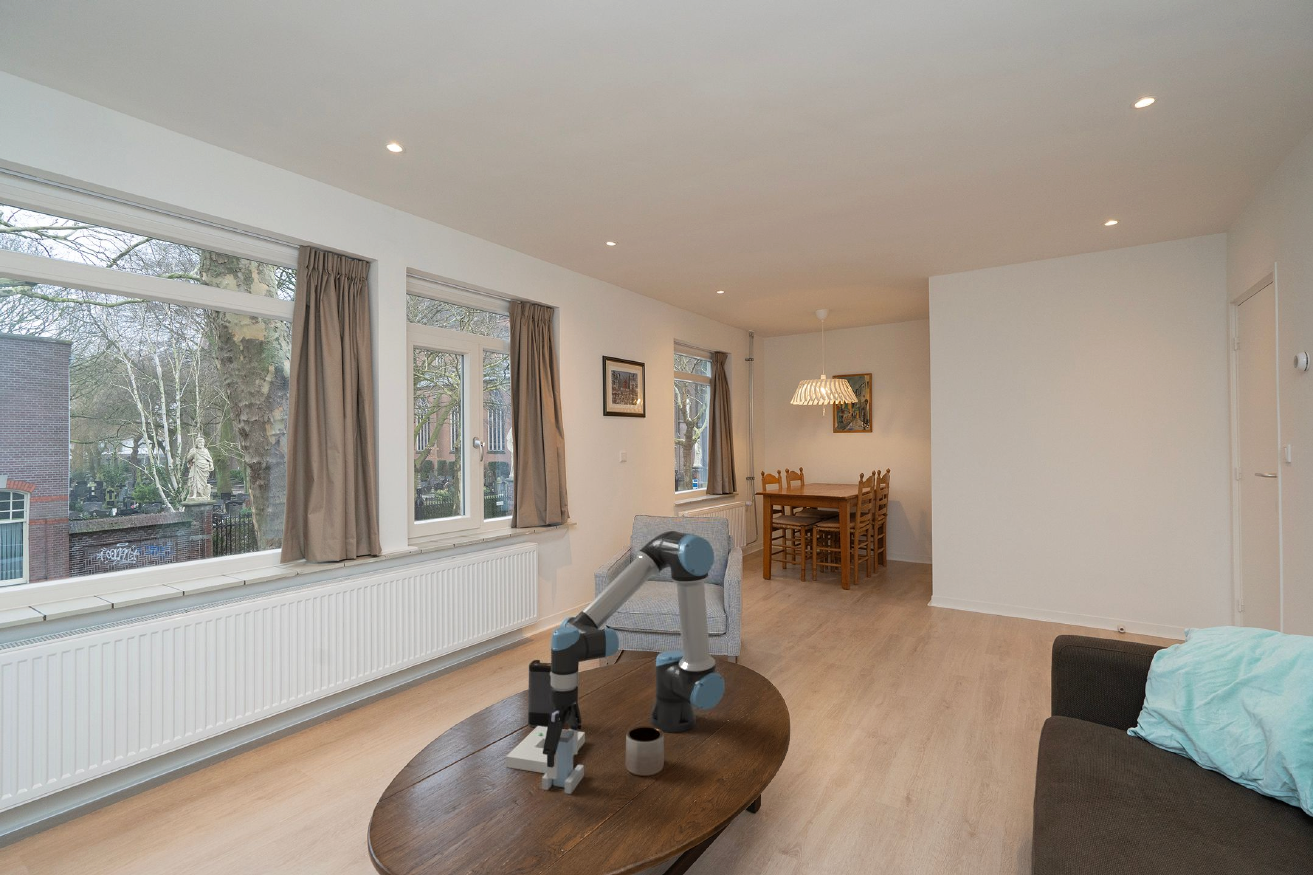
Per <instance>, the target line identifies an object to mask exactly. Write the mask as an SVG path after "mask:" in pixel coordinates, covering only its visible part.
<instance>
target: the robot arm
mask: <svg viewBox="0 0 1313 875" xmlns="http://www.w3.org/2000/svg"><path fill="white" fill-rule="evenodd" d="M714 563H715V552H714V549H713V546H712V545H711V543H710V542H709V541H708V540H707V539H706V538H705V537H702V536H699V535H697V534H694V533H692V534H690V533H684V532H681V531H680V532H679V531H677V530H675V531H674V530H669V531H665V532H663V533H660V534H658V535H657V536H655V537H654V538H652V539H651V540H649V541H648V542H647V543H646V544H645V545H644V546H643V547H642V548H640V549H639V551H638V552H636V558H635V559H634V560H632V562H631V563H629V565H628V566H626V567H625V568H624V569H623V570H622V571H621V572H620V573H619V574H618V575H617V576H616V577H615V578H614V579H613V580H612V581H611V582H610V583H609V584H608V585H607V586H606V587H605V588H604V589H603V590H602V591H601V592H600V593H599V594H598V595H596V597H595V598H594V599H593V600H591V602H590V603H588V604H587V605H586V607H584V609H582V610H581V611H580V613H578V614H577V615H576V616H569V617H567V618H565V619H563V621H562V622H561V623H560V626H559V627H557V628H555V629H553V631H552V633H551V640H550V663H551V672H550V676H551V686H552V687H551V688H550V701H551V702H552V703H553V704H554V705H555V710H554V713H551V712H550V714H549V723H548V728H547V733H546V738H545V743H544V748H543V754H545V755H547V777H546V778H551V779H557V764H558V753H557V752H556V751H557V747H558V743H559V740H560V736H561V732H562V729H564V728H565V727H566V723H567V726H569V728H568V730H569V731H574V736H573V754H575V755H577V754H578V751H579V750H578V732H579V730H582V727H583V726H582V715H581V713H580V711H581V710H580V706H579V703H578V702H579V701H578V700H579V666H580V663H581V662H586V661H587V662H588V661H592V660H597V659H602V658H605V659H606V658H607V657H610V656H614V655H616V654H617V652H618V650H619V646H620V645H619V643H620V642H619V640H620V639H619V636H618V634H617V632H616V630H614V629H613V628H603V629H600V628H601V627H602V626H603V625H604V624H605V623H606V622H608V620H609V619H610V618H612V617H613V615H615V613H616V612H617V611H618V610H619V609H620V608H621V607H622V606H623V605H625V603H626V602H627V601H628V600H629V599H630V598H632V596H633V595H634V594H635V593H636V592H637V591H638V590H640V588H641V587H642V586H643V585H644V584H645V583H647V582H648V580H649V579H650V578H651V577H653V575H654V576H655V575H659V574H660V573H661V572H662V571H663V570H665V569H667V568H670V575H671V577H670V578H671V580H672V581H673V582H674V583H675V584H676V588H677V602H678V615H679V625H680V639H681V650H676V649H675V650H667V651H663V652H660V653H658V655H657V656H656V659H655V661H656V662H655V700H654V703H653V707H652V710H651V713H650V718H649V719H650V720H649V721H650V722H649V723H650V726H654V727H657V728H659V729H661V730H662V731H663V732H666V733H682V732H683V733H684V732H687V731H689V730H692V728H694V727H695V726H696V723H697V721H696V719H697V716H696V712H695V710H694V708H697V709H700V710H702V711H703V710H704V711H705V710H706V711H708V710H711V709H713V708H715V707H716V706H717V705H718V703H719V702H720V700H721V699H722V697H723V695H724V693H725V686H726V685H725V680H724V678H723V676H721V674H720V673H717V668H716V667H717V666H716V660H715V658H713V657H712V656H711V651H710V639H709V638H710V637H709V628H708V627H709V626H708V614H707V603H706V602H707V601H706V589H705V581H706V580H707V579H708V578H709V572H710V571H711V569H712V566H713V565H714Z"/></svg>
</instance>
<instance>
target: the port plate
mask: <svg viewBox="0 0 1313 875" xmlns="http://www.w3.org/2000/svg"><path fill="white" fill-rule="evenodd" d="M547 728H548V727H542V726H537V727H534V729H533V730H532V731H531V732H530V733H528V735H527V736H526V737H525V738H523V740H521V742H520V743H518V745H516V746H515V747H514V748H513V749H511V751H510V752H509V753H508V754H507V755H506V756H505V767H506V768H509V769H510V768H511V769H517V770H523V771H528V772H535V773H536V772H537V773H542V774H546V772H547V755H545V754H543V748H544V743H545V738H546V733H547ZM562 730H565V729H564V728H563V729H562ZM585 743H586V732H585V731H584V732H583V731H578V751H579V750H580V749H581V748H582V747H583V746H584V745H585ZM575 755H576V754H573V757H574V756H575Z"/></svg>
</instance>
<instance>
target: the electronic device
mask: <svg viewBox="0 0 1313 875" xmlns="http://www.w3.org/2000/svg"><path fill="white" fill-rule="evenodd" d="M550 672H551V662H541V660H540V659H534V660H532V661H531V662H530V663H529V664H528V701H527V702H528V707H527V709H528V712H527V713H528V715H527V716H528V718H527V719H528V720H527V726H529V727H531V728H536V727H537V726H542V727H548V723H549V714H550V712H551V713H554V710H555V705H554V704H553V703H552V702H551V701H550V688H551V687H552V686H551V676H550Z"/></svg>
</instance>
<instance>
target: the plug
mask: <svg viewBox="0 0 1313 875" xmlns="http://www.w3.org/2000/svg"><path fill="white" fill-rule="evenodd" d="M573 736H574V731H569V729H564V730H562V732H561V736H560V740H559V743H558V747H557V751H556V752H557V753H558V764H557V779H553V784H552V786H555V787H561V788H565V781H566V779H567V778H568V777H569V776H570V774H571V773H572V772H573V770H574V756H573Z"/></svg>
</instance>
